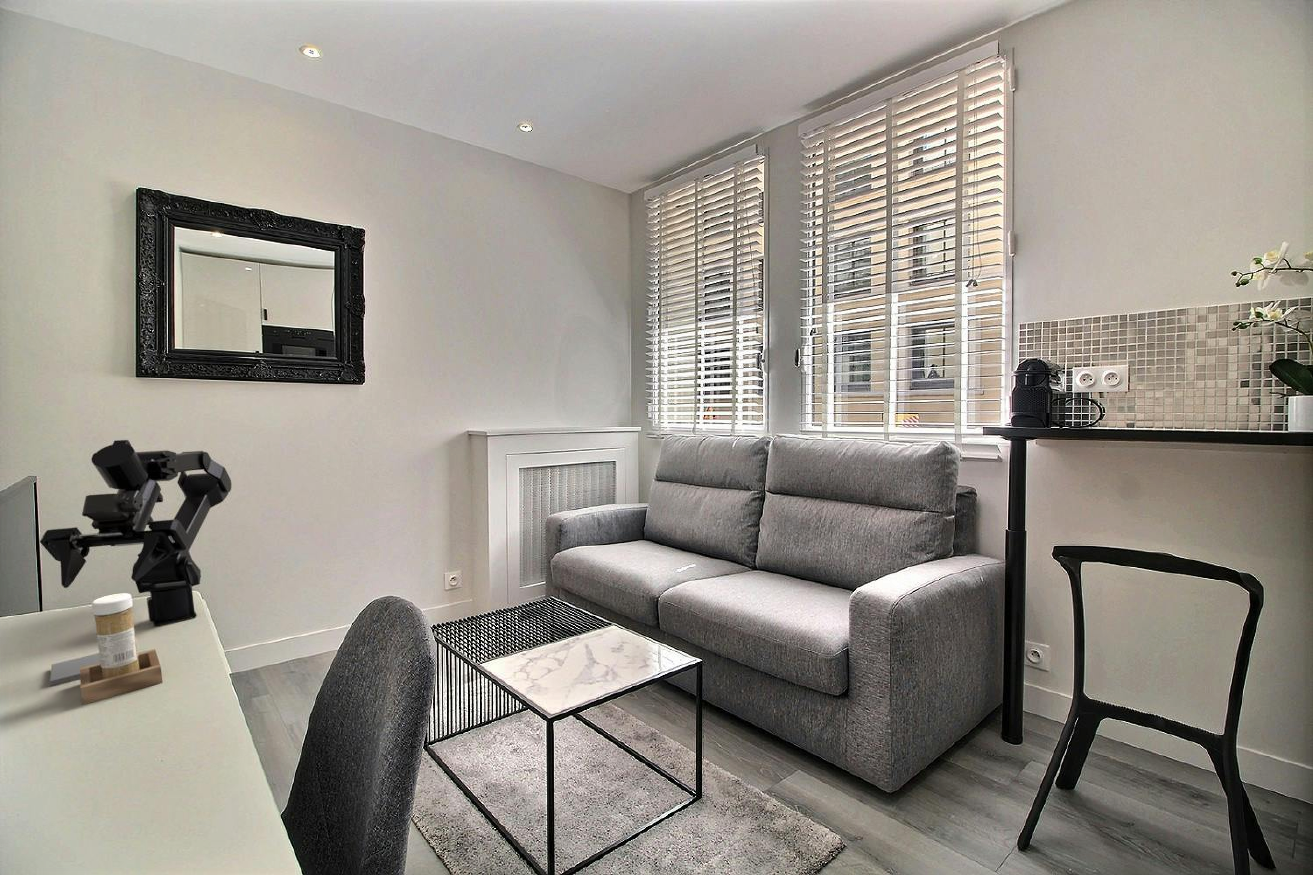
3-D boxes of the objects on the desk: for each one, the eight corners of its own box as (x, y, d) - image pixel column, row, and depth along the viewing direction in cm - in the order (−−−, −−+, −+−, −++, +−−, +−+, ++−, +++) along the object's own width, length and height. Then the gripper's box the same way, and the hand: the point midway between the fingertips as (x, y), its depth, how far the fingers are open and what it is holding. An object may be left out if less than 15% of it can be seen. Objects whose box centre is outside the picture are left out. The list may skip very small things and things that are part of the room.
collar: (156, 663, 102) (155, 648, 102) (162, 682, 96) (160, 666, 96) (82, 683, 96) (80, 667, 96) (82, 704, 90) (80, 687, 90)
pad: (132, 649, 108) (131, 644, 108) (135, 663, 103) (135, 659, 102) (52, 669, 102) (51, 664, 102) (50, 686, 96) (50, 681, 96)
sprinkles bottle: (141, 672, 99) (131, 590, 98) (141, 683, 96) (131, 597, 94) (102, 682, 96) (92, 597, 95) (101, 693, 93) (90, 605, 92)
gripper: (43, 480, 103) (-3, 559, 92) (177, 471, 108) (147, 546, 97) (77, 522, 110) (38, 600, 100) (200, 513, 115) (175, 586, 105)
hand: (99, 582), depth 100 cm, fingers open, 9 cm apart
